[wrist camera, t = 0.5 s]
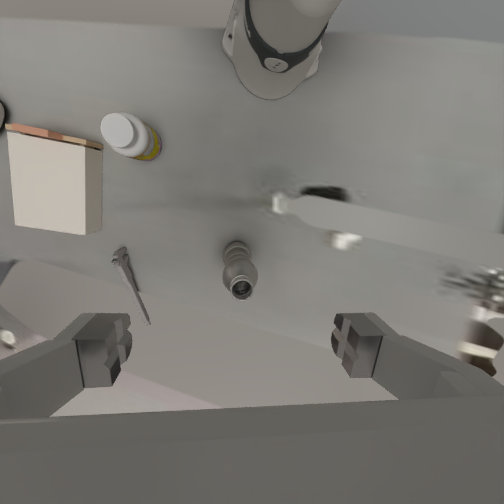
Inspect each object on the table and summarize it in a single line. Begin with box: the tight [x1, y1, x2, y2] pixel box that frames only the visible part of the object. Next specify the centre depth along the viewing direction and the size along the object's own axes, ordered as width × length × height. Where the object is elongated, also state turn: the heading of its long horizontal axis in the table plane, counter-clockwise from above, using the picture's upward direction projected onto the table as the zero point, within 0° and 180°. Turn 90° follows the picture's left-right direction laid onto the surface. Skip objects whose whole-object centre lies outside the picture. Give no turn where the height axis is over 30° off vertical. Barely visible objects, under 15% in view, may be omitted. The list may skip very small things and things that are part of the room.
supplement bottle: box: [101, 112, 161, 161], centre depth 41 cm, size 7×7×13 cm
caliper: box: [111, 247, 151, 325], centre depth 53 cm, size 20×1×6 cm, turn 9°
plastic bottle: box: [222, 242, 258, 301], centre depth 46 cm, size 6×7×20 cm
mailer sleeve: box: [7, 132, 102, 235], centre depth 45 cm, size 16×12×6 cm
